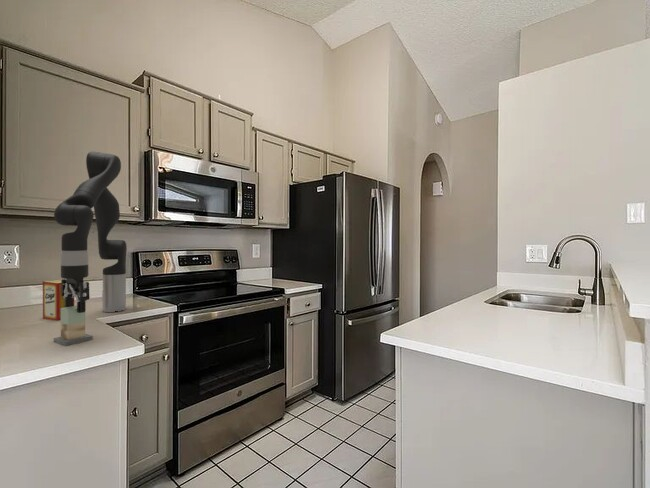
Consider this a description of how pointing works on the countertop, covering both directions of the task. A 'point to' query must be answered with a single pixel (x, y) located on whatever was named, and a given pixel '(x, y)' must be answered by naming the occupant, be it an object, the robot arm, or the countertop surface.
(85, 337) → the base plate
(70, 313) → the sage block
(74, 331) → the oak block
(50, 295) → the baking soda box
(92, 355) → the countertop surface
